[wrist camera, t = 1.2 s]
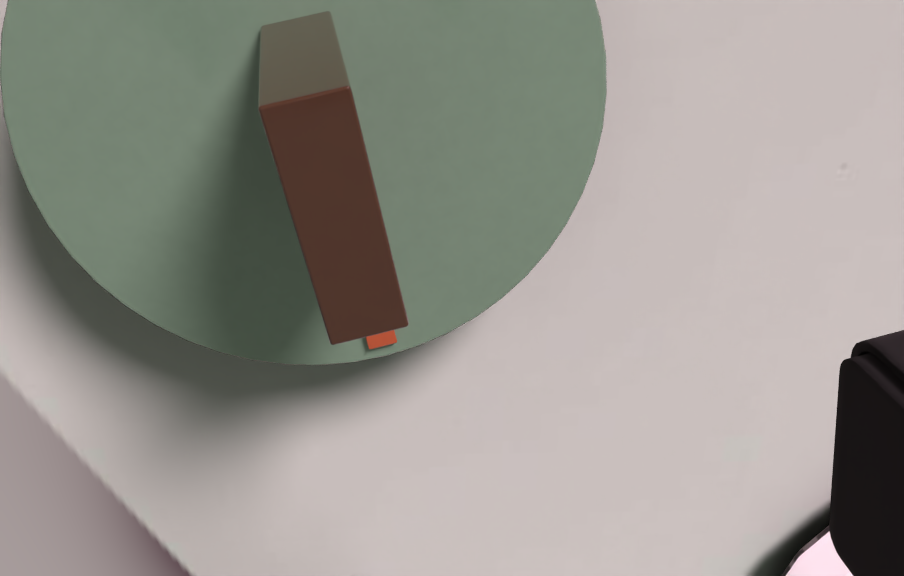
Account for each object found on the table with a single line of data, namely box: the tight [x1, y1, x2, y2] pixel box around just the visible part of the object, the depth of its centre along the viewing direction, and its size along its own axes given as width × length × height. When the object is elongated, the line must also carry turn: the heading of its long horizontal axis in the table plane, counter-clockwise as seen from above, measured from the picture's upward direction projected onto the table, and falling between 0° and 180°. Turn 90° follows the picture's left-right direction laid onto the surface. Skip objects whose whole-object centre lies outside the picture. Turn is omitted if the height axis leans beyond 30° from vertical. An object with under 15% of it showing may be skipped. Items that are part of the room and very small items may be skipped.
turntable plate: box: [0, 0, 607, 365], centre depth 19 cm, size 14×14×7 cm
